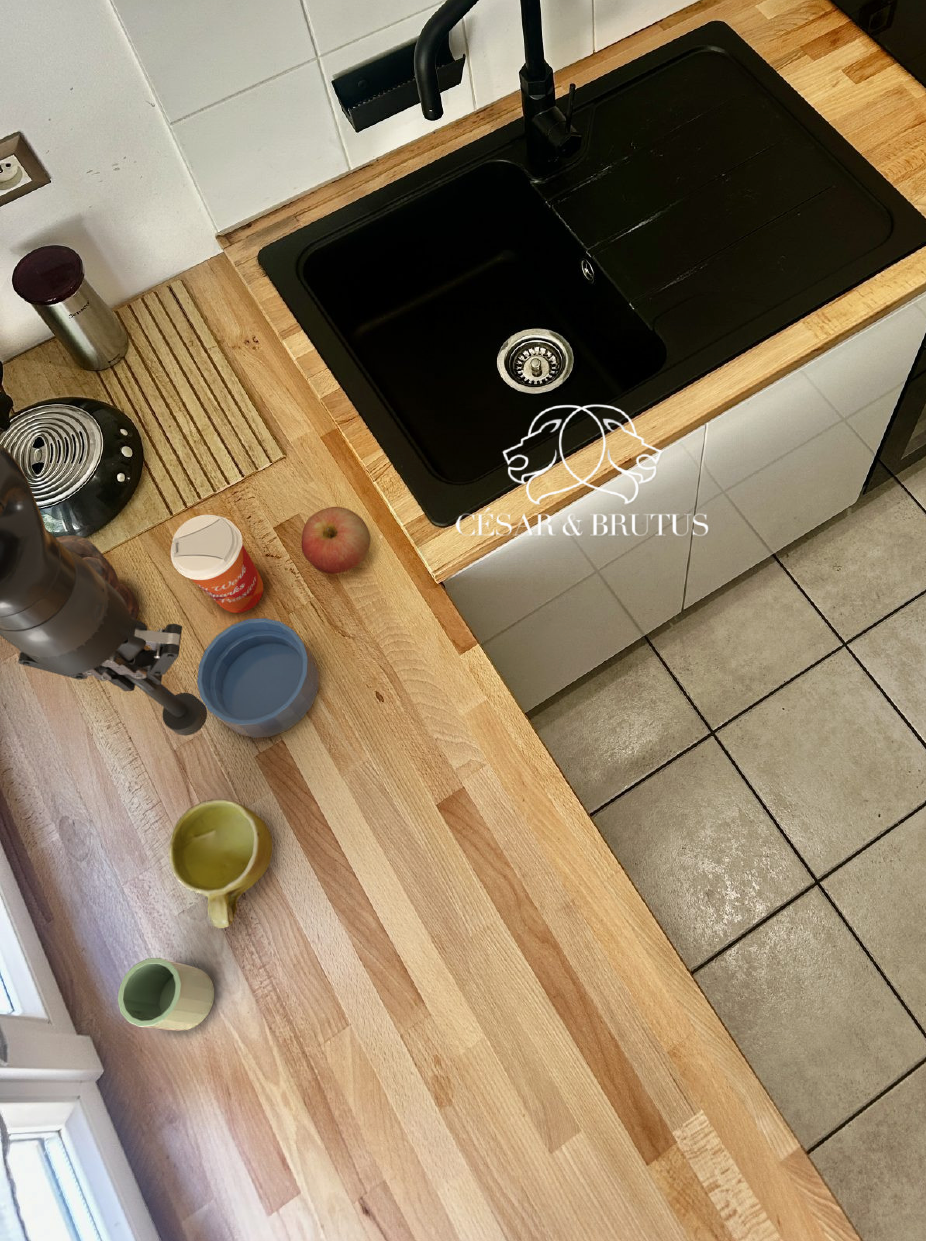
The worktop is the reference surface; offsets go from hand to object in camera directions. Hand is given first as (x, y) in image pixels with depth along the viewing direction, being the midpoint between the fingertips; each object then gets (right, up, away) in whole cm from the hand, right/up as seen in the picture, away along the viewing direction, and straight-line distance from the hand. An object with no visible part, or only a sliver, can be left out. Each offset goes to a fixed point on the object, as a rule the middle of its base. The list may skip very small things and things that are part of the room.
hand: (142, 679), depth 99 cm
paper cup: (-3, +4, +37) cm, 38 cm away
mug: (+1, -24, +22) cm, 33 cm away
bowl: (+2, -7, +32) cm, 32 cm away
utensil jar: (-2, -35, +16) cm, 39 cm away
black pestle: (0, -5, +10) cm, 12 cm away
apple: (+9, +8, +39) cm, 41 cm away
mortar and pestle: (-16, +1, +37) cm, 40 cm away
